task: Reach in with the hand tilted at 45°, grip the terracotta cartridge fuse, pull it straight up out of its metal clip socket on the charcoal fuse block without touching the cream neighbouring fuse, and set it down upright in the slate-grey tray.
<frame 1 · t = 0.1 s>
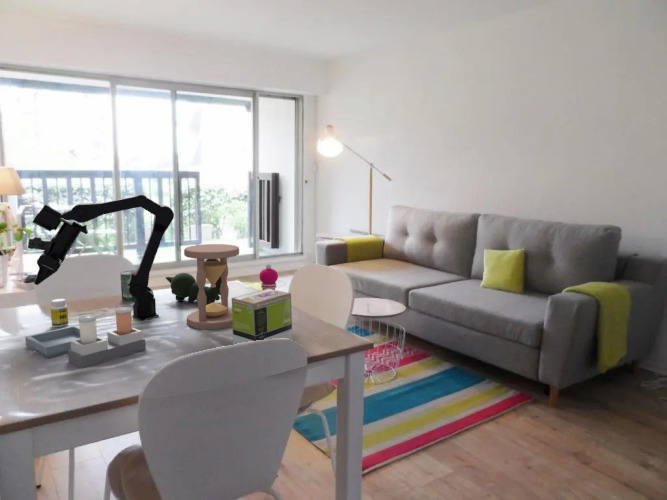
hand: (37, 281, 161), 15 cm above the table, tool tilted 35°, fingers open, 9 cm apart
green container: (132, 300, 197), on the table
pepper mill: (269, 323, 170), on the table
toy figurine: (196, 303, 195), on the table
fuse block: (125, 350, 143), on the table
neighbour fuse: (89, 349, 135), point 3 cm above the table, touching fuse block
parts tray: (62, 345, 146), on the table
supplement bottle: (60, 325, 165), on the table
tea box: (262, 343, 150), on the table
hourglass: (214, 322, 171), on the table
marked fuse: (125, 340, 142), point 3 cm above the table, touching fuse block
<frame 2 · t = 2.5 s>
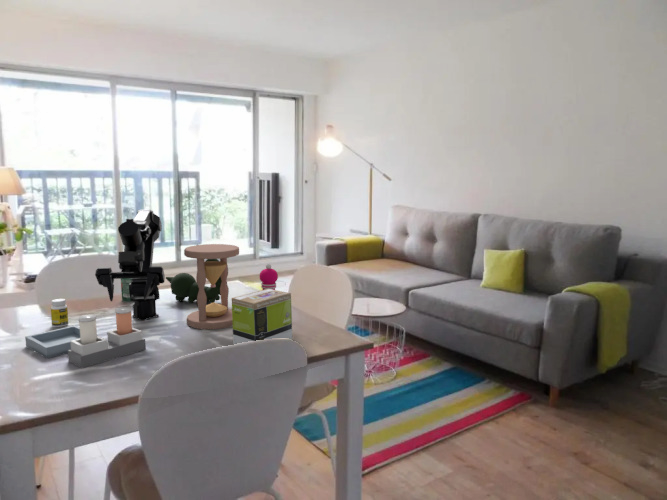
hand: (127, 300, 147), 13 cm above the table, tool tilted 45°, fingers open, 9 cm apart
nothing on the table moved.
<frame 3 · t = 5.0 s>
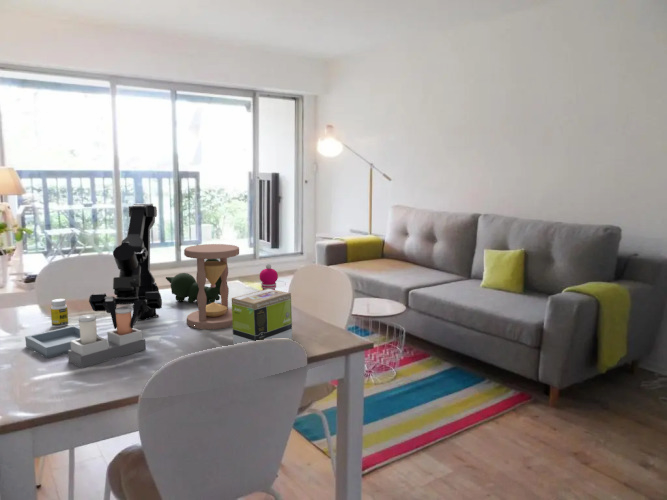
hand: (123, 327, 141), 7 cm above the table, tool tilted 45°, fingers closed on marked fuse, 4 cm apart
marked fuse: (125, 340, 142), point 3 cm above the table, touching fuse block, gripper
everything else where it was.
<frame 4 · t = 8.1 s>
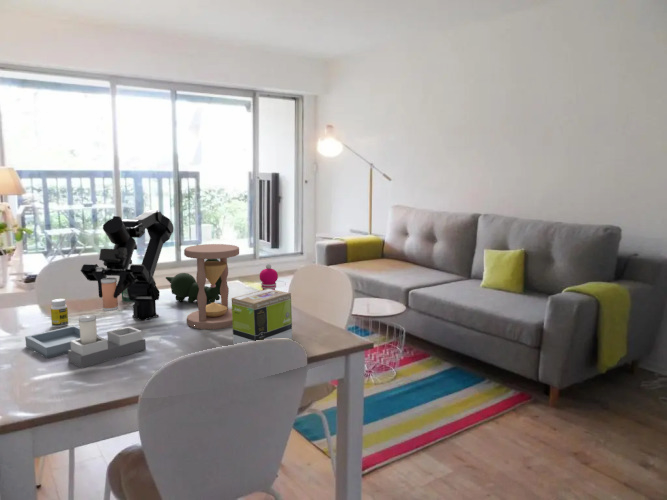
hand: (107, 297, 148), 13 cm above the table, tool tilted 45°, fingers closed on marked fuse, 4 cm apart
marked fuse: (110, 309, 150), point 10 cm above the table, touching gripper
everything else where it was.
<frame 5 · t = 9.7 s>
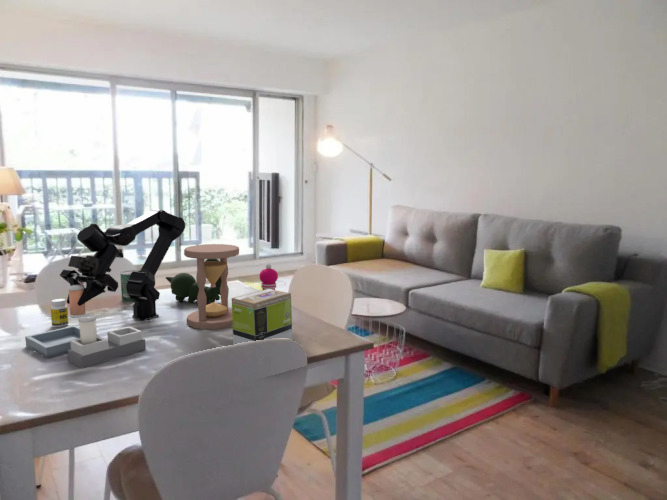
hand: (73, 304, 148), 11 cm above the table, tool tilted 45°, fingers closed on marked fuse, 4 cm apart
marked fuse: (78, 316, 150), point 7 cm above the table, touching gripper
everything else where it was.
when the fingers open (7 cm above the table, at t = 11.2 s): marked fuse drops 2 cm, resting on parts tray.
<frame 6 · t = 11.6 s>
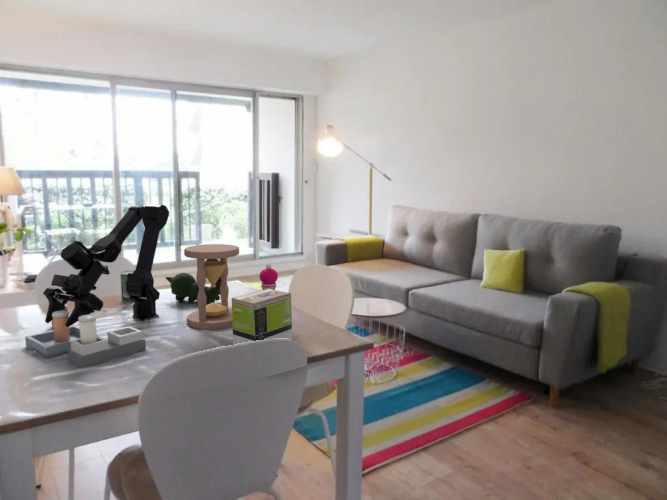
hand: (56, 324, 144), 7 cm above the table, tool tilted 45°, fingers open, 8 cm apart
marked fuse: (62, 342, 146), point 1 cm above the table, touching parts tray
everything else where it was.
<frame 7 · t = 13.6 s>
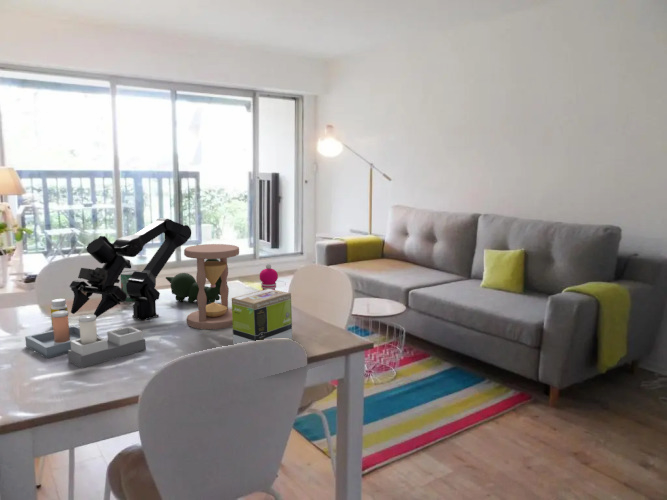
hand: (83, 315, 152), 7 cm above the table, tool tilted 45°, fingers open, 9 cm apart
nothing on the table moved.
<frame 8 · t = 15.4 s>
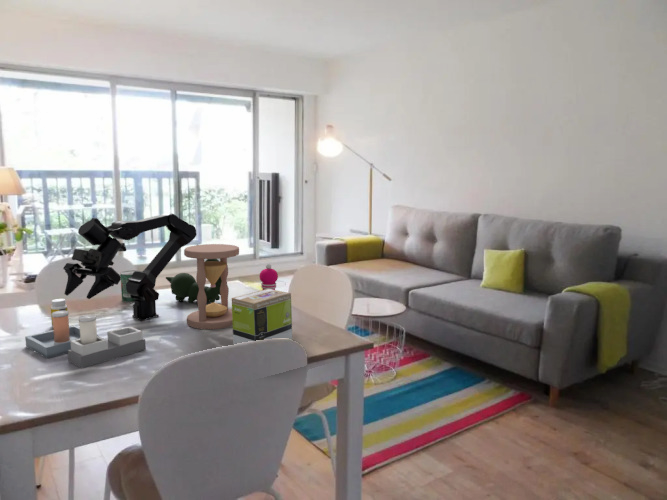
hand: (76, 296, 152), 13 cm above the table, tool tilted 45°, fingers open, 9 cm apart
nothing on the table moved.
at the end: marked fuse inside the target area on the parts tray (0.0 cm from its centre), point 0.8 cm above the parts tray's base; the gripper is holding nothing; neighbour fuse moved 0.0 cm from its start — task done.
